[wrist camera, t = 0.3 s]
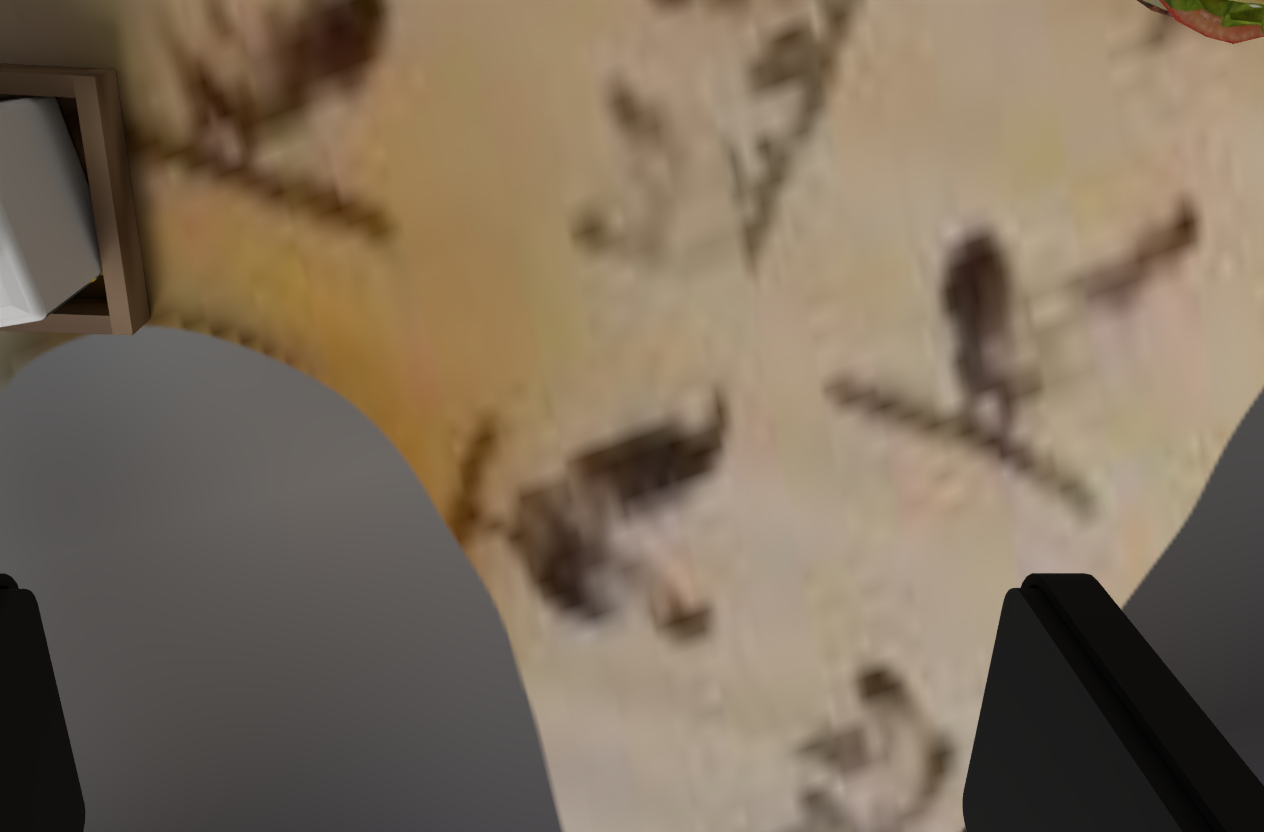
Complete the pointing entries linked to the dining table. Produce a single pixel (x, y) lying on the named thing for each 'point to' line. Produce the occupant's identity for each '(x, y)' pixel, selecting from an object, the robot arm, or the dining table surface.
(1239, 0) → the food
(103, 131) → the collar
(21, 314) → the medicine bottle
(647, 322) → the dining table surface
